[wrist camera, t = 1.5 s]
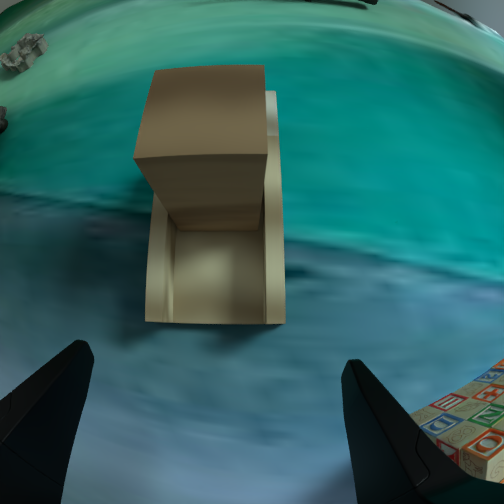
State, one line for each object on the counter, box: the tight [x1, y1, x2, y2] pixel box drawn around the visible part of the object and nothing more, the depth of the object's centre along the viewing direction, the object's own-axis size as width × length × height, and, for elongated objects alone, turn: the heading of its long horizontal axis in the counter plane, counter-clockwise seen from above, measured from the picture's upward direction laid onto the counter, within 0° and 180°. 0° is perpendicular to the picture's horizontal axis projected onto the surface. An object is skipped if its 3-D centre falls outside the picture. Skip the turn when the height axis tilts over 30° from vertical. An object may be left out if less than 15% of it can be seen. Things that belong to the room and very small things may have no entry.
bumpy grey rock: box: [0, 33, 48, 73], centre depth 30 cm, size 11×8×4 cm
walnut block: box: [133, 65, 268, 231], centre depth 18 cm, size 6×6×11 cm
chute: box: [145, 91, 285, 324], centre depth 23 cm, size 22×10×4 cm, turn 0°
